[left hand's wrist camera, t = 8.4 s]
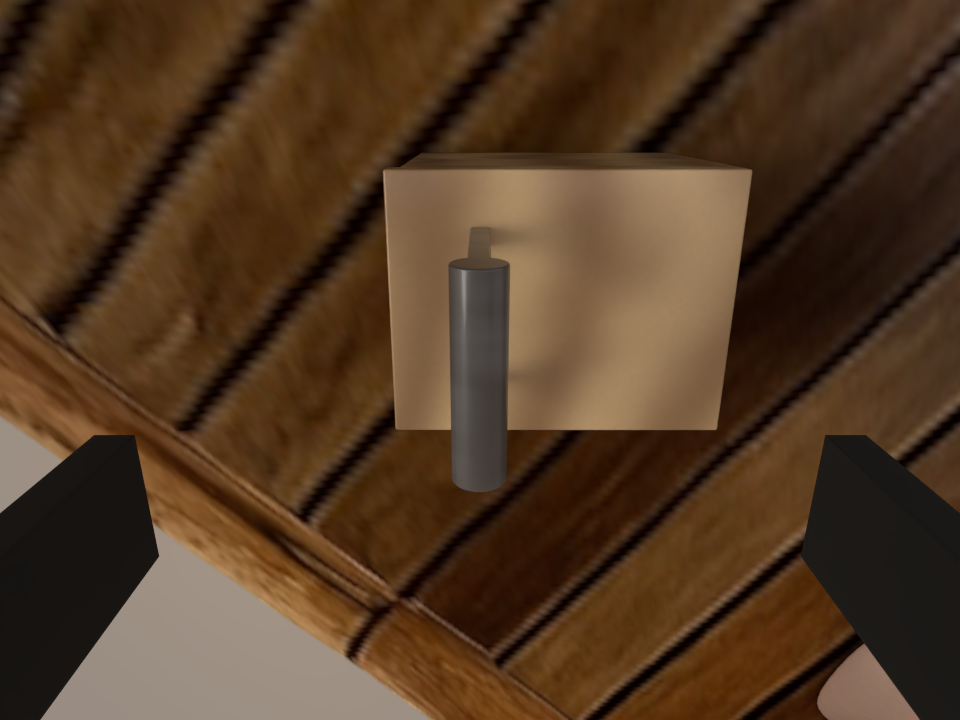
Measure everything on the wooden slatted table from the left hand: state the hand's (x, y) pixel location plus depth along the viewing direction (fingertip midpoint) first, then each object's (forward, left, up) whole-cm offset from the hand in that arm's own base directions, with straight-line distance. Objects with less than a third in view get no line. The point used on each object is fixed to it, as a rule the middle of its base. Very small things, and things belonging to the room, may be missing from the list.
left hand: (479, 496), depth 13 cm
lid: (-2, +2, -14) cm, 14 cm away
